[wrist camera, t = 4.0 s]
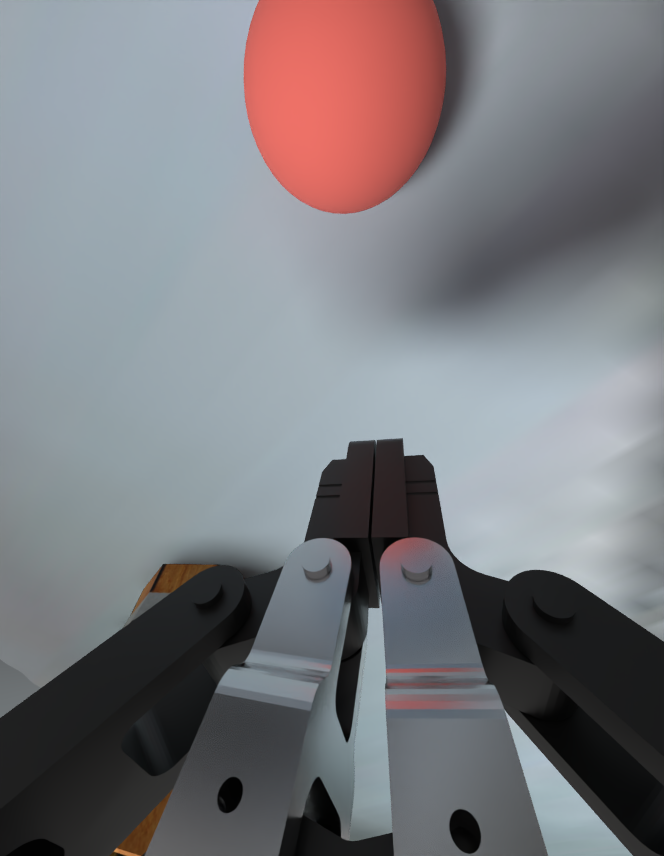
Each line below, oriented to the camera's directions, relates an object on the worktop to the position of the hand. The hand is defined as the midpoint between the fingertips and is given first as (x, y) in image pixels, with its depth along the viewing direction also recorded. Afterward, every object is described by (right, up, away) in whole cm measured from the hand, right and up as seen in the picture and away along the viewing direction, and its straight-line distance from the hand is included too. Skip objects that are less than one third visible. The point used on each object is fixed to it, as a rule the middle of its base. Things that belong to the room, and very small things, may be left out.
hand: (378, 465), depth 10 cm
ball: (-1, +11, +1) cm, 11 cm away
